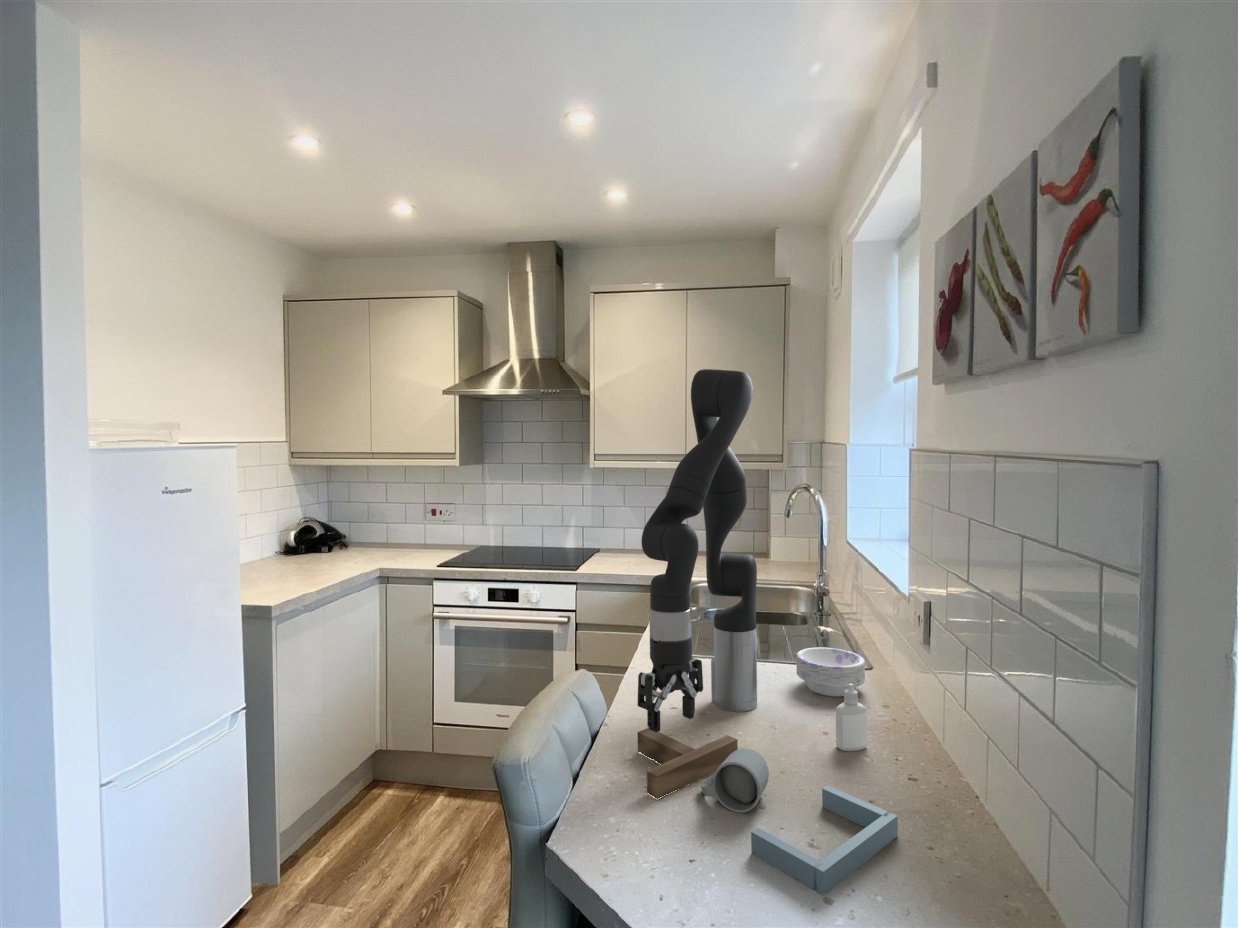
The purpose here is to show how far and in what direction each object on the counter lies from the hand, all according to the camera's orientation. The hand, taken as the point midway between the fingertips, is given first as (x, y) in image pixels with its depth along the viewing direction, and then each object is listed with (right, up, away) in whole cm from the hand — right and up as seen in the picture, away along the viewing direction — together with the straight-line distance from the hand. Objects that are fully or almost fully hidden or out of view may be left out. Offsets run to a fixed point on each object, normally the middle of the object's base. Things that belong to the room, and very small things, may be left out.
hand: (671, 723), depth 117 cm
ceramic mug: (+9, -8, -11) cm, 17 cm away
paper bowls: (+40, -6, +35) cm, 54 cm away
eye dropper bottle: (+34, -7, +6) cm, 36 cm away
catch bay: (+20, -8, -24) cm, 32 cm away
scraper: (0, -8, +1) cm, 8 cm away
